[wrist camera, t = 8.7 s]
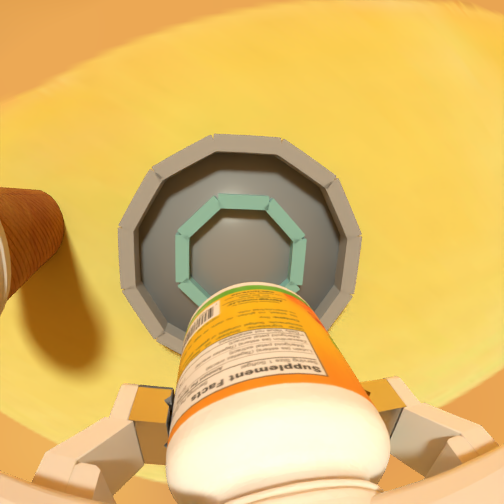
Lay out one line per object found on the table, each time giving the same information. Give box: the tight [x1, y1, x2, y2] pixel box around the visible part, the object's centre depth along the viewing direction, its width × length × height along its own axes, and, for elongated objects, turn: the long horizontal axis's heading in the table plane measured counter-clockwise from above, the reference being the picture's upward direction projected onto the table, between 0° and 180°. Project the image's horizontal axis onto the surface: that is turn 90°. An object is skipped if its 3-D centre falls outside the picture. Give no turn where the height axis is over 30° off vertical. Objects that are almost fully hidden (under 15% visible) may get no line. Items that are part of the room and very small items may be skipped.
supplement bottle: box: [166, 282, 390, 504], centre depth 8 cm, size 5×5×10 cm
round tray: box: [118, 134, 362, 354], centre depth 24 cm, size 18×18×2 cm
